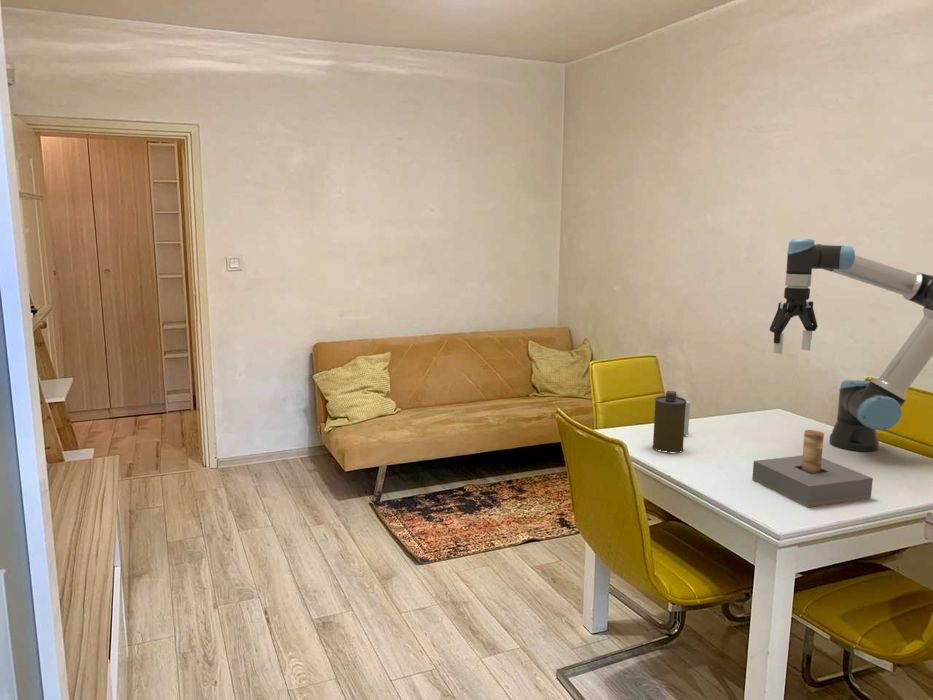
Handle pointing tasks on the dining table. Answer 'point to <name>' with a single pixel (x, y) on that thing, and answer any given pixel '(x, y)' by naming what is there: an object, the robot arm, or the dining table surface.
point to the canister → (669, 422)
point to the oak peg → (812, 451)
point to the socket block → (812, 481)
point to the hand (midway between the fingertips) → (791, 351)
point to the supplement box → (686, 418)
